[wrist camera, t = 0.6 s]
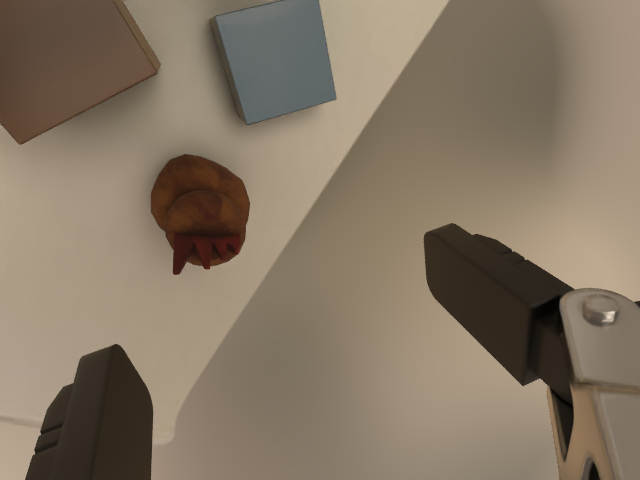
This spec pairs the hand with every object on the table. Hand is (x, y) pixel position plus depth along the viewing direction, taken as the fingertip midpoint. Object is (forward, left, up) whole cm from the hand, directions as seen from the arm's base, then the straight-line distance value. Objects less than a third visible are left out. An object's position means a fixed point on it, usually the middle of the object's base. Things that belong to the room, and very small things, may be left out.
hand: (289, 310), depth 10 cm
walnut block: (-8, -6, -25) cm, 27 cm away
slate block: (-4, +6, -25) cm, 26 cm away
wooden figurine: (+4, -2, -26) cm, 26 cm away
